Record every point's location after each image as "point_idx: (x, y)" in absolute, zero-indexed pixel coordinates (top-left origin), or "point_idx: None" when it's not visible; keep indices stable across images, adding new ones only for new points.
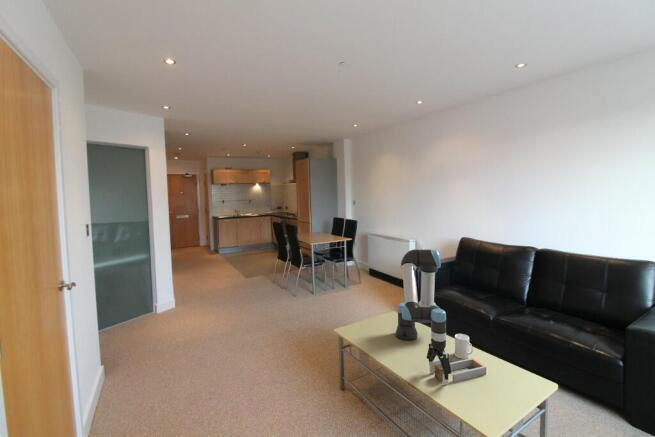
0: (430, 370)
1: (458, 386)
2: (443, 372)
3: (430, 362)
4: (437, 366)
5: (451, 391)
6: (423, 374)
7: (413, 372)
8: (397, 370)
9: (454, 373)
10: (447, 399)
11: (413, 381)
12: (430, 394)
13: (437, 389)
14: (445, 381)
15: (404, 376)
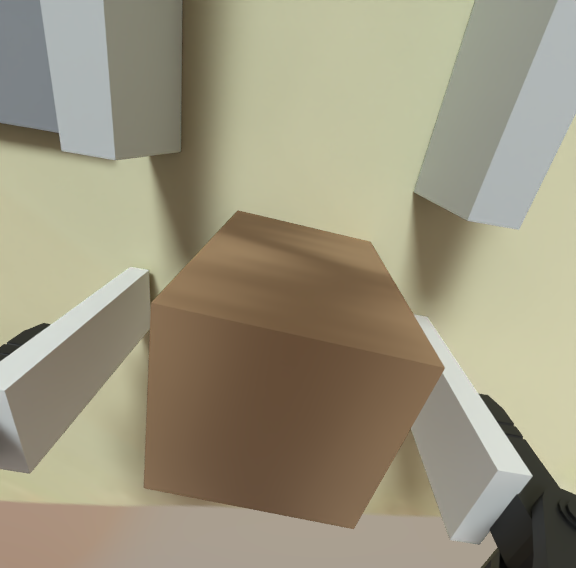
0: (125, 354)
1: (549, 228)
2: (459, 529)
3: (22, 468)
4: (231, 491)
5: (526, 372)
6: (129, 381)
7: None
8: (7, 494)
9: (499, 176)
10: (555, 474)
11: (199, 500)
12: (408, 514)
13: (402, 443)
14: None
15: (109, 505)
